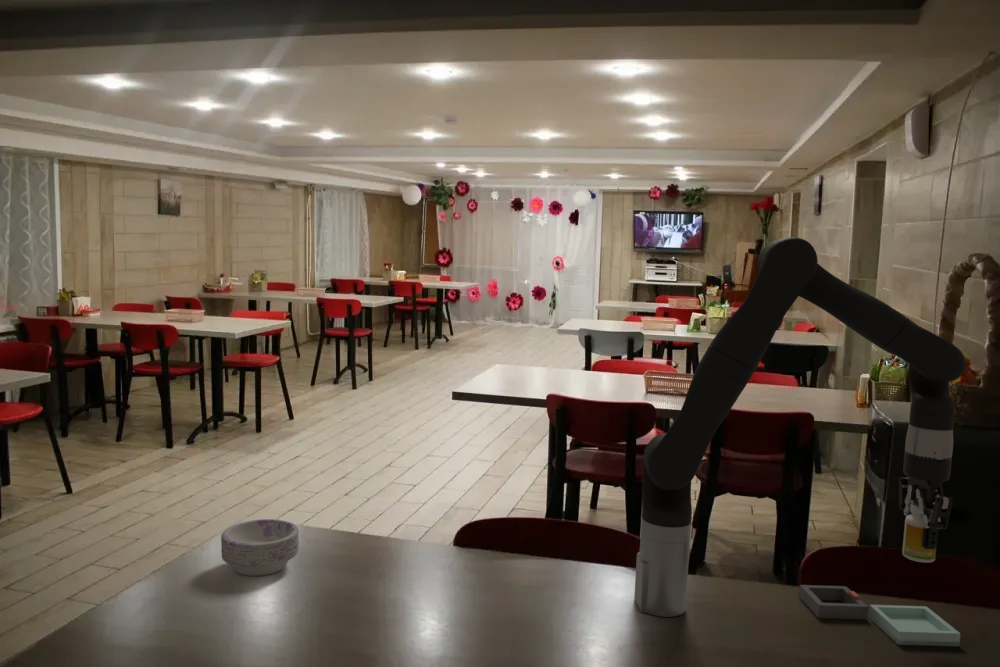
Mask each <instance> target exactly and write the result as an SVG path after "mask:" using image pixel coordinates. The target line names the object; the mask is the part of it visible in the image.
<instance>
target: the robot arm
mask: <svg viewBox="0 0 1000 667" xmlns="http://www.w3.org/2000/svg"><path fill="white" fill-rule="evenodd" d="M818 262H819V261H818V255H817V251H816V250H815V247H814V246H813V244H811V242H809V241H808V240H806V239H804V238H801V237H796V236H795V237H794V236H788V237H783V238H778V239H775V240H773V241H771V242H769V243H768V244H766V245H765V246H764V247H763V248H762V250H760V253H759V256H758V258H757V269H758V272H759V273H758V275H757V277H756V279H755V281H754V282H753V285H752V287H751V289H750V291H749V292H748V294H747V296H746V298H745V299H744V300H743V302H742V303H741V304H740V305H739V307H738V308H737V309H736V310H735V312H734V313H733V314H731V317H730V318H729V319H728V320H727V321H726V323H725V324H723V326H722V327H721V328H720V329H719V331H718V332H717V333H716V335H715V336H714V338H713V339H712V341H711V342H710V344H709V346H708V347H707V348H706V350H705V353H704V354H703V356H702V357H701V359H700V361H699V362H698V364H697V366H696V368H695V372H694V373H693V375H692V376H693V377H692V379H691V381H690V385H689V387H688V390H687V393H686V396H685V399H684V402H683V405H682V406H681V408H680V410H679V413H678V415H677V416H676V418H675V420H674V421H673V423H672V424H671V426H670V427H669V428H668V430H667V432H665V433H660V434H657V435H656V436H654V437H652V439H650V441H649V442H648V443H647V445H646V446H645V450H644V454H643V464H642V465H643V466H642V485H641V487H642V488H641V524H640V525H641V526H640V537H639V538H640V540H639V541H640V543H639V551H637V553H636V563H635V564H636V565H635V581H634V583H635V584H634V596H633V597H634V601H635V603H636V607H637V609H638V611H639V613H642V614H644V613H645V614H649V615H652V616H656V617H664V618H672V617H678V616H681V615H683V614H685V612H686V605H687V592H688V576H689V575H688V574H689V562H690V560H689V559H690V547H691V545H690V543H691V532H692V531H691V530H692V514H693V511H692V510H693V507H692V480H693V479H694V477H695V476H696V474H697V472H698V470H699V467H700V466H701V463H702V461H703V459H704V456H705V454H706V452H707V449H708V447H709V445H710V443H711V441H712V439H713V438H714V436H715V434H716V432H717V430H718V429H719V427H720V425H721V424H722V422H723V421H724V420H725V418H726V417H727V415H728V414H730V413H729V412H730V411H731V409H732V408H733V406H734V405H735V403H736V402H737V400H738V398H740V395H741V394H742V393H743V391H744V389H745V387H747V385H748V383H749V381H750V380H751V378H752V376H754V373H755V372H756V370H757V367H759V364H760V362H761V360H762V359H763V357H764V355H765V353H766V351H767V349H768V347H769V346H770V344H771V342H772V339H774V336H775V333H776V332H777V330H778V328H779V327H780V323H781V322H782V321H783V319H784V317H785V315H787V313H788V311H789V310H790V308H791V307H792V306H793V304H794V303H795V302H796V300H797V299H798V297H800V298H802V299H804V300H806V301H808V302H810V303H811V304H813V305H815V306H816V307H818V308H819V309H821V310H823V311H824V312H826V313H828V314H829V315H830V316H833V317H834V318H835V319H837V321H840V322H841V323H842V324H844V325H845V326H847V327H848V328H849V329H851V330H852V331H854V332H855V333H856V334H858V335H860V337H862V338H864V339H865V340H867V341H869V342H870V343H872V345H873V344H874V345H875V346H876V347H878V348H879V349H881V350H882V351H885V352H887V353H889V354H890V355H892V356H893V355H894V356H896V357H898V358H900V359H901V360H902V361H903V362H906V363H907V364H908V375H909V376H908V378H909V388H910V394H911V395H910V396H911V402H910V408H909V410H910V412H909V421H908V428H907V432H906V434H905V435H906V437H905V446H904V457H903V467H902V468H903V469H902V472H903V474H904V475H905V477H903V476H901V477H899V478H898V507H899V509H900V510H902V511H903V515H904V516H905V518H906V517H907V516H908V515H910V514H912V513H911V510H910V509H911V504H912V503H914V504H917V505H919V510H920V514H921V515H922V516H923V520H924V528H923V539H922V547H924V548H925V549H935V548H936V549H937V546H936V545H937V544H938V543H937V542H938V535H939V530H941V529H942V530H946V529H948V525H949V521H950V516H951V513H952V512H951V511H952V510H953V504H954V499H953V497H946V496H945V494H944V491H943V483H945V482H947V481H949V480H950V478H951V471H952V458H953V450H954V423H955V414H956V413H955V411H956V405H955V401H954V399H953V397H952V396H951V394H950V382H954V381H956V380H958V379H959V378H960V377H962V376H963V374H964V372H965V370H966V366H967V362H966V358H965V356H964V354H963V352H962V351H961V350H960V348H958V347H957V346H956V345H954V344H953V343H952V342H950V341H948V340H946V339H945V338H942V336H940V335H937V334H936V333H933V332H932V331H929V330H928V329H925V328H923V327H921V326H920V325H918V324H917V323H915V322H914V321H913V320H911V319H910V318H908V317H907V316H906V315H904V314H902V313H901V312H900V311H898V310H897V309H895V308H894V307H892V306H890V305H889V304H887V303H885V302H884V301H883V300H880V299H878V298H877V297H874V296H872V295H871V294H869V293H867V292H865V291H862V290H861V289H859V288H857V287H855V286H853V285H851V284H849V283H848V282H845V281H843V280H842V279H840V278H838V277H836V276H835V275H833V274H832V273H830V272H829V271H828V270H826V269H825V268H824V267H823V266H821V264H819V263H818ZM927 509H933V511H932V510H927ZM929 515H932V517H931V521H930V518H929ZM937 534H938V535H937Z"/></svg>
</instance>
